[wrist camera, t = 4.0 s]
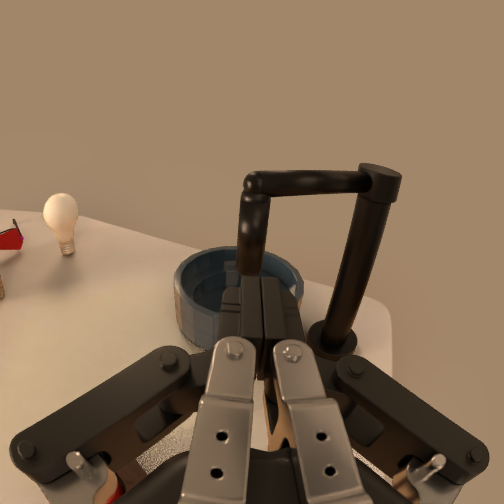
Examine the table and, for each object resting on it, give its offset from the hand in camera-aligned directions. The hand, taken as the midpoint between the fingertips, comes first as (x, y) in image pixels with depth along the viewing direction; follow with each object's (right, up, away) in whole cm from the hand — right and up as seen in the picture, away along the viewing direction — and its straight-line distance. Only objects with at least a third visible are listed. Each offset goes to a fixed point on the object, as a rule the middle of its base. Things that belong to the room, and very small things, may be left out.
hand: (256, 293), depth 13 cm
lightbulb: (-32, +1, +33) cm, 46 cm away
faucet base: (+9, -9, +21) cm, 25 cm away
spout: (+5, +1, +13) cm, 14 cm away
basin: (-2, -6, +24) cm, 25 cm away
